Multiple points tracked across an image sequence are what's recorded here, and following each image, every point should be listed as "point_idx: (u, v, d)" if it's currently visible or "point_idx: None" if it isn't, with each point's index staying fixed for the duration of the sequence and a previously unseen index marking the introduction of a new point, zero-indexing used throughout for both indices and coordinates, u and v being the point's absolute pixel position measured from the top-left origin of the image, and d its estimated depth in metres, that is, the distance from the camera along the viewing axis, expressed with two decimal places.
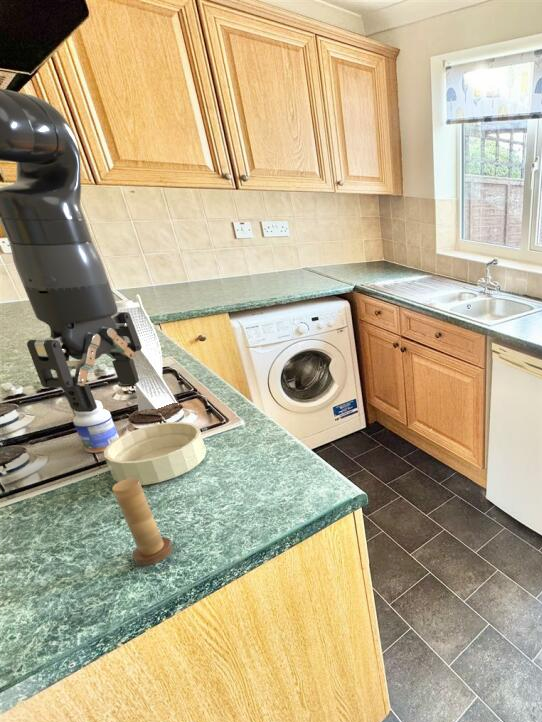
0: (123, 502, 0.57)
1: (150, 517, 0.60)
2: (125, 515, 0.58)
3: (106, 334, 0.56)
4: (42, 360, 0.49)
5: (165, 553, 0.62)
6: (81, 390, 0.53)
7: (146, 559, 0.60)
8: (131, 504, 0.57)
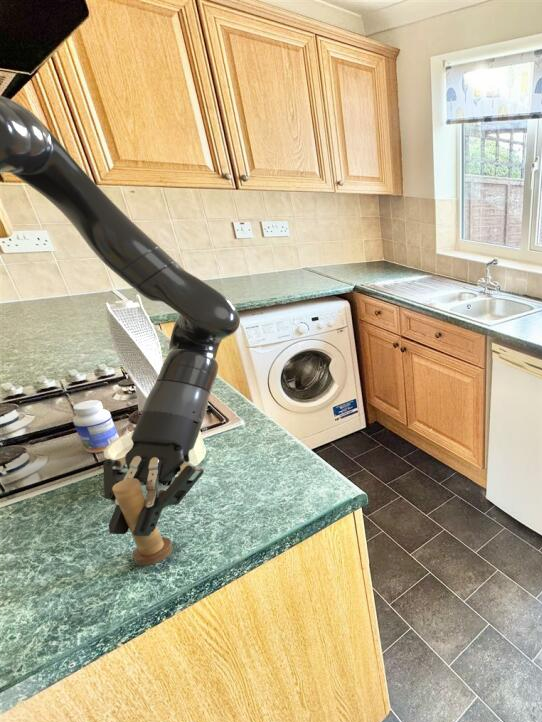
0: (123, 502, 0.57)
1: None
2: (125, 515, 0.58)
3: None
4: (186, 483, 0.60)
5: (165, 553, 0.62)
6: None
7: (146, 559, 0.60)
8: (131, 504, 0.57)
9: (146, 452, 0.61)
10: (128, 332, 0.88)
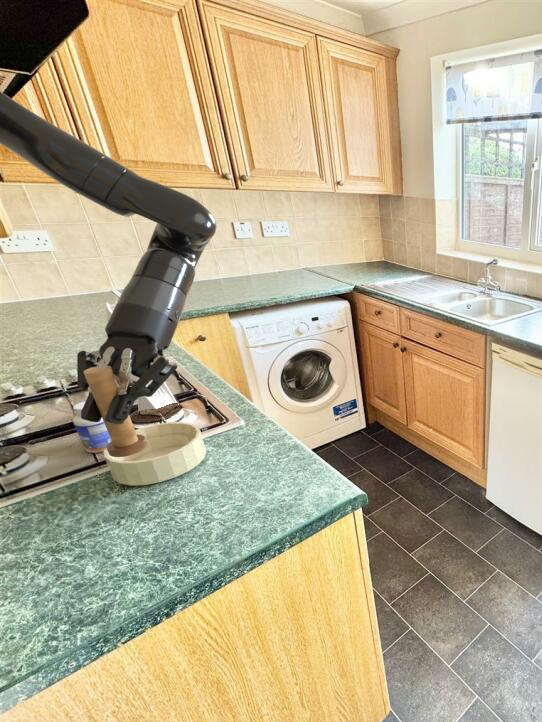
0: (95, 386, 0.57)
1: None
2: (97, 401, 0.58)
3: None
4: (159, 374, 0.61)
5: (139, 447, 0.62)
6: None
7: (119, 450, 0.61)
8: (103, 389, 0.57)
9: (120, 344, 0.61)
10: None
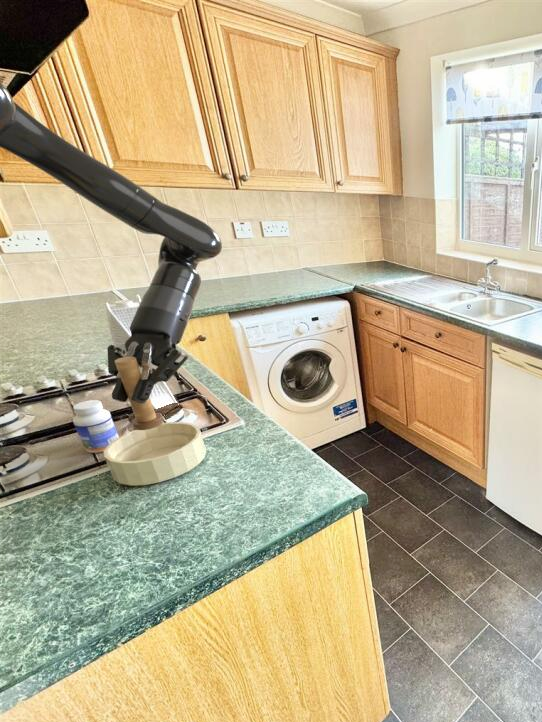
0: (123, 373, 0.72)
1: None
2: (125, 384, 0.73)
3: None
4: (173, 364, 0.76)
5: (157, 422, 0.77)
6: None
7: (142, 424, 0.76)
8: (130, 375, 0.72)
9: (141, 340, 0.76)
10: (128, 332, 0.88)
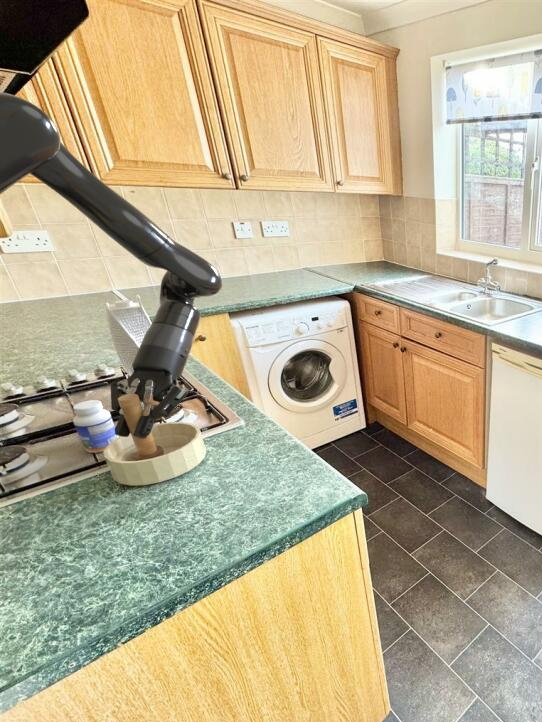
0: (126, 410, 0.75)
1: None
2: (127, 421, 0.76)
3: None
4: (174, 400, 0.79)
5: (158, 455, 0.80)
6: None
7: (143, 458, 0.79)
8: (132, 412, 0.76)
9: (143, 376, 0.79)
10: (128, 332, 0.88)
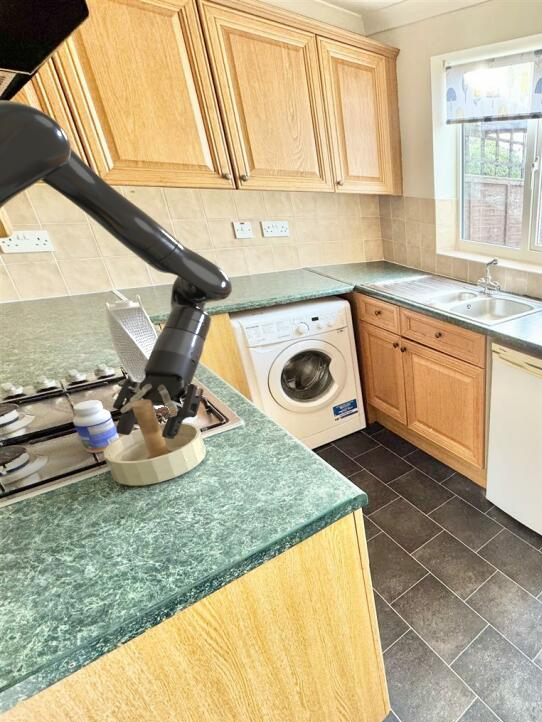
0: (140, 416, 0.76)
1: (159, 431, 0.79)
2: (141, 426, 0.76)
3: None
4: (195, 397, 0.80)
5: None
6: None
7: None
8: (145, 418, 0.76)
9: (155, 381, 0.80)
10: (128, 332, 0.88)
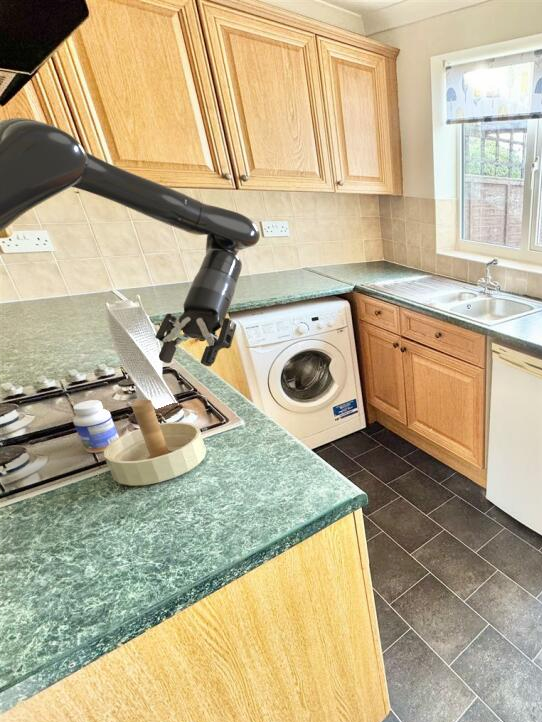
0: (140, 416, 0.76)
1: (159, 431, 0.79)
2: (141, 426, 0.76)
3: None
4: (229, 330, 0.87)
5: None
6: None
7: None
8: (145, 418, 0.76)
9: (193, 316, 0.88)
10: (128, 332, 0.88)
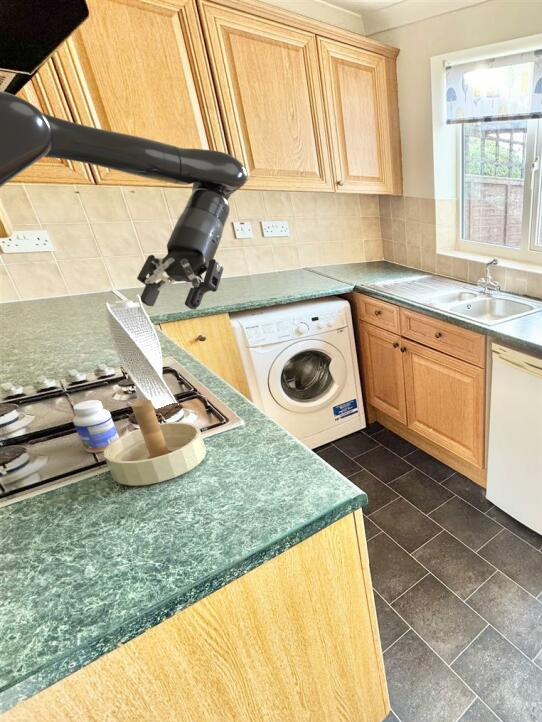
0: (140, 416, 0.76)
1: (159, 431, 0.79)
2: (141, 426, 0.76)
3: None
4: (216, 272, 0.82)
5: None
6: None
7: None
8: (145, 418, 0.76)
9: (177, 257, 0.83)
10: (128, 332, 0.88)
